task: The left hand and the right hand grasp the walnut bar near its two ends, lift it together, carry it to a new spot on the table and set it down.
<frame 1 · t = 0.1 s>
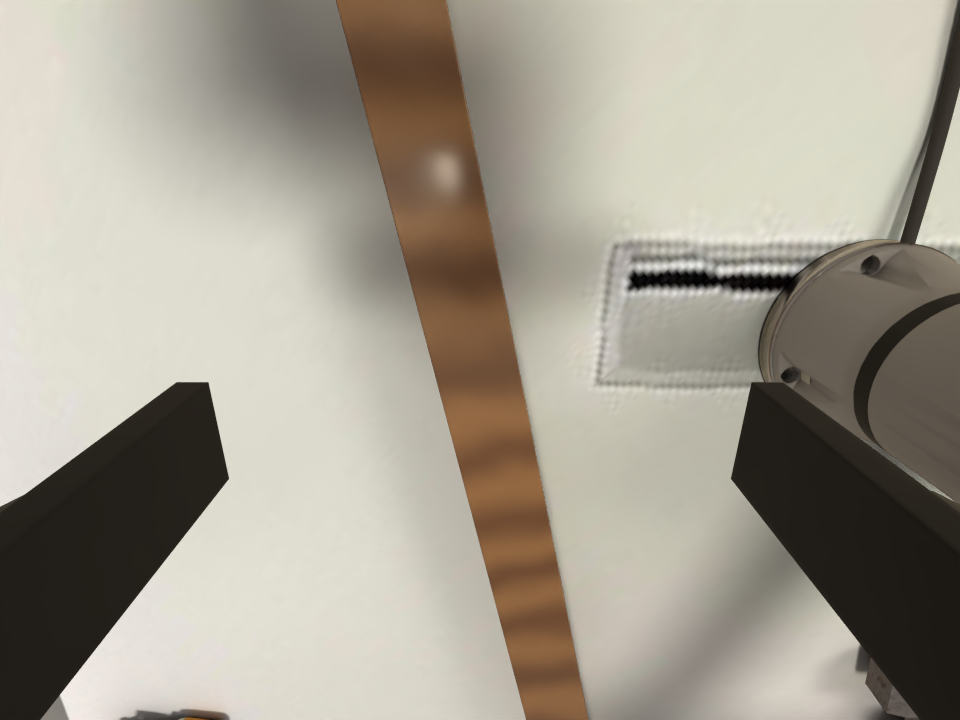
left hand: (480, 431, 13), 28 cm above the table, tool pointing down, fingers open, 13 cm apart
bar: (505, 460, 45), on the table
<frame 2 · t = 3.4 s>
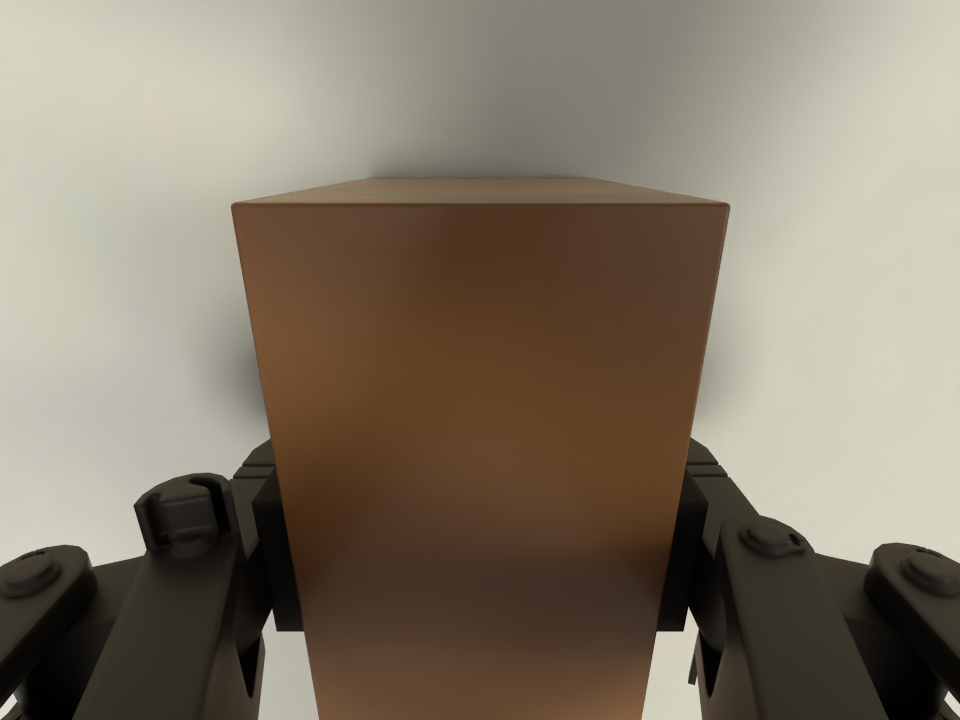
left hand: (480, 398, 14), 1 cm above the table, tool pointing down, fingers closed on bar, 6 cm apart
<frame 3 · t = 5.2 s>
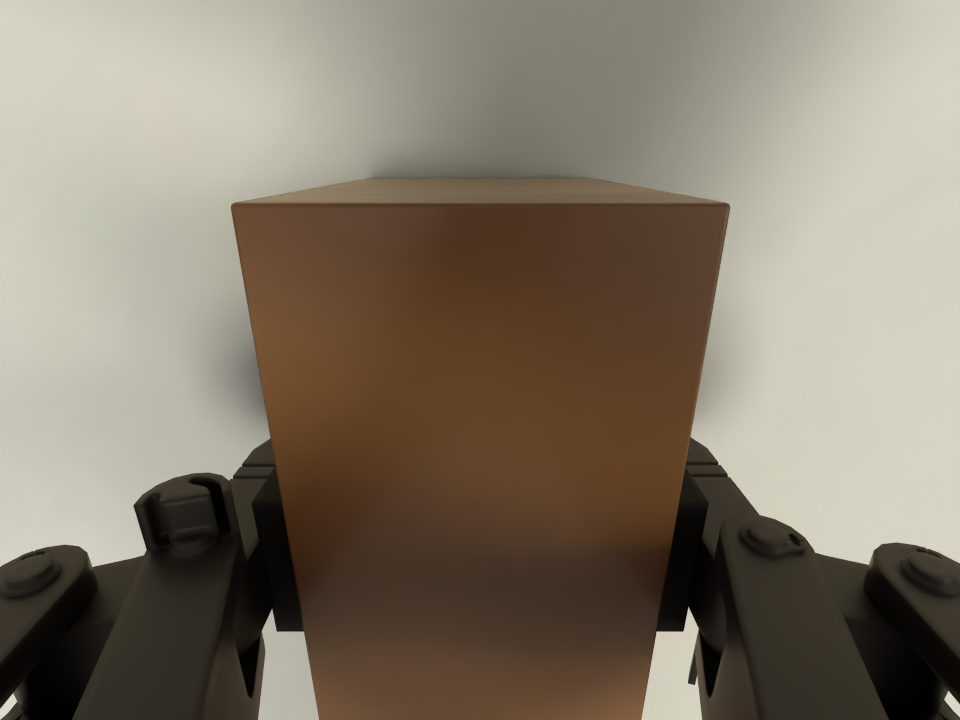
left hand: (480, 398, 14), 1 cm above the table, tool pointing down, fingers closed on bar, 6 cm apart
when the right hand's fingers open (2 cm above the table, at t = 11.6 s): bar drops 1 cm, on the table.
when the left hand's fingers open (2 cm above the table, at t = 11.7 s): bar drops 1 cm, on the table.
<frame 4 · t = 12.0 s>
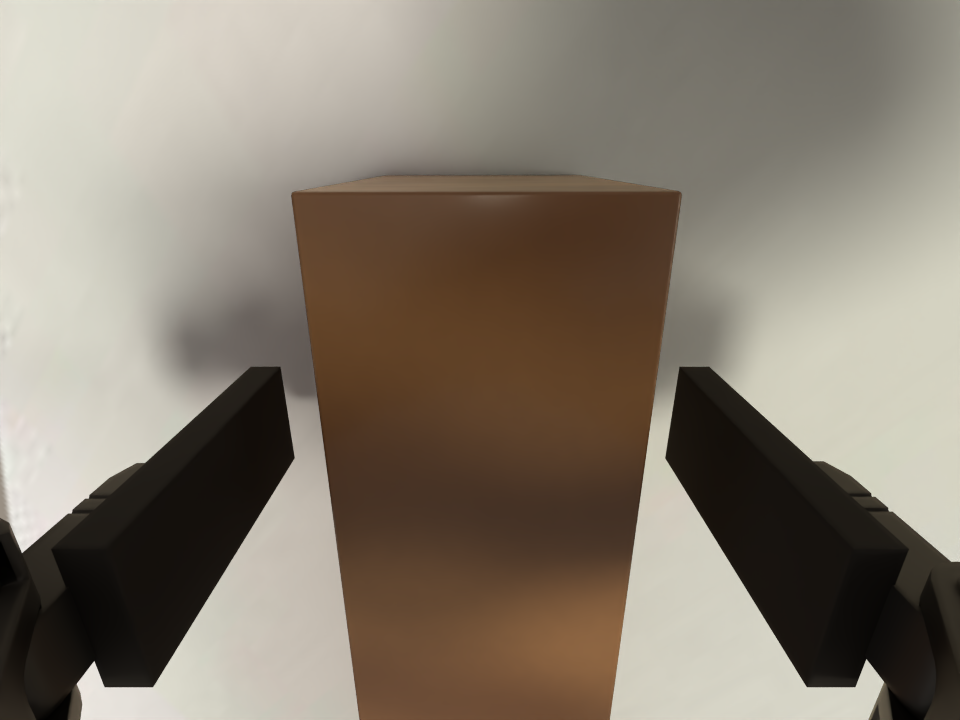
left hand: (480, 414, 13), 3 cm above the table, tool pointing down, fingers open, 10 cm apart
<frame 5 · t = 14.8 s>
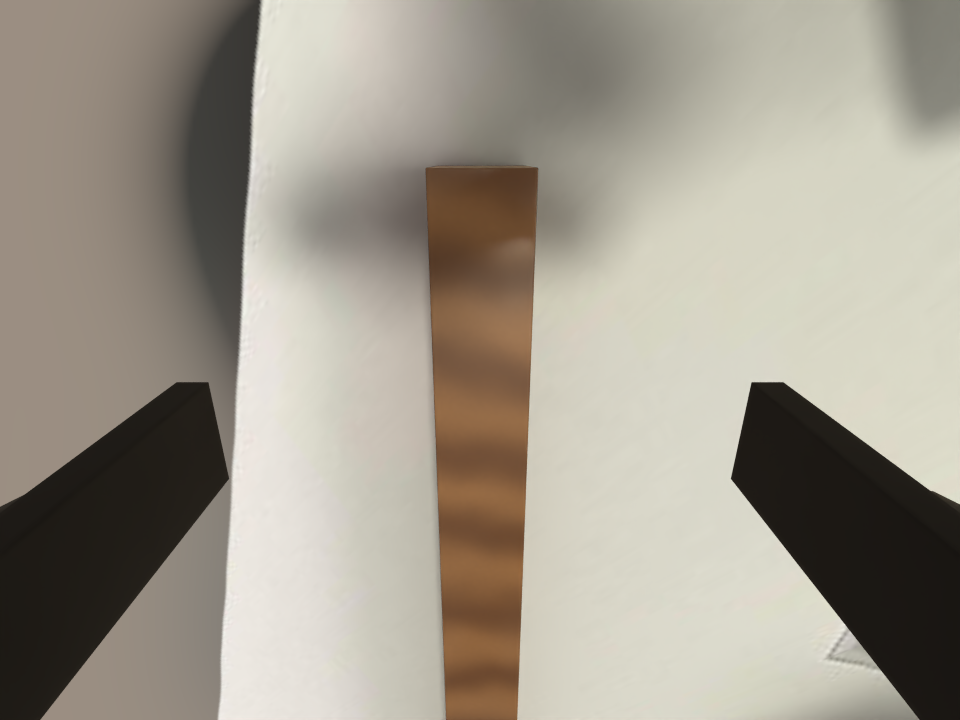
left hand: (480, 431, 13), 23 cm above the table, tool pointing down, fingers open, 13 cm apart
bar: (481, 640, 47), on the table
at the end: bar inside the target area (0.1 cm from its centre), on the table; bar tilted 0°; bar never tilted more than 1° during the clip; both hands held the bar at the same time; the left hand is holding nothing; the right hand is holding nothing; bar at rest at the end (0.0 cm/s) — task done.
